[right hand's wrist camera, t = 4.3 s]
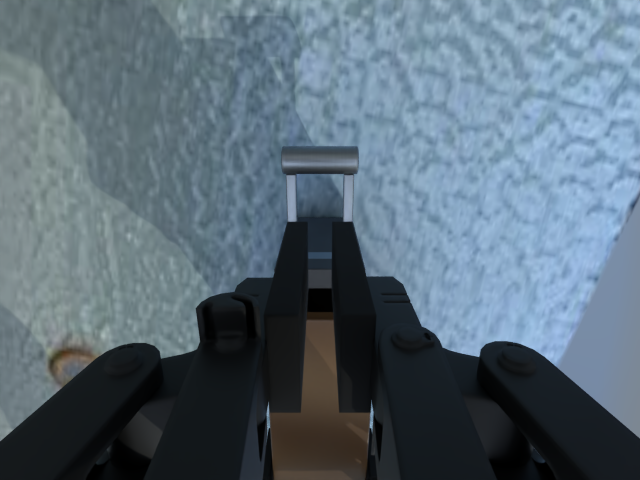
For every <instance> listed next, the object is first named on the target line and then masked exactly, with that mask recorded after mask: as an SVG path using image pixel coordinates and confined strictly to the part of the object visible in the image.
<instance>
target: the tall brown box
mask: <svg viewBox="0 0 640 480" xmlns="http://www.w3.org/2000/svg"><path fill="white" fill-rule="evenodd" d="M269 415H270V431H271V448H272V464H273V475H274V480H366V474H367V460H368V444H369V427H370V413H339V403H338V386H337V370H336V353H335V337H334V320H333V312H307V321H306V337H305V353H304V370H303V386H302V403H301V413H270V412H269Z"/></svg>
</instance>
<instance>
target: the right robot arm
mask: <svg viewBox="0 0 640 480" xmlns="http://www.w3.org/2000/svg"><path fill="white" fill-rule="evenodd" d="M308 288H309V275H308V222H288V223H287V227H286V231H285V235H284V239H283V242H282V246H281V250H280V254H279V258H278V262H277V265H276V269H275V273H274V277H273V278H247V279H245V280H244V281H243V282H241V283H240V284H239V285H237V287H236V290H235V292H231V293H223V294H219V295H215V296H212V297H209V298H208V299H206V300H204V301H202V302H201V303H200V304H199V305H198V306H197V308H196V313H197V321H198V328H199V336H200V343H199V346H198V348H197V350H194V351H192V352H189V353H185V354H182V355H177V356H172V357H167V358H163V359H161V357H160V351H159V350H158V349H157V348H156V347H155V346H153V345H150V344H147V343H131V344H127V345H126V344H125V345H121V346H118V347H116V348H114V349H111V350H109V351H107V352H105V353H104V354H102V355H101V356H99V357H98V358H96V359H95V360H94V361H93V362H92V363H90V364H89V365H88V366H87V367H86V368H85V369H83V370H82V371H81V372H80V373H79V374H78V375H77V376H75V377H74V378H73V379H72V380H71V381H70V382H68V383H67V384H66V385H65V386H64V387H63V388H62V389H60V390H59V391H58V392H57V393H56V394H55V395H53V396H52V397H51V398H50V399H49V400H48V401H46V402H45V403H44V404H43V405H42V406H41V407H40V408H38V409H37V410H36V411H35V412H34V413H33V414H31V415H30V416H29V417H28V418H27V419H26V420H24V421H23V422H22V423H21V424H20V425H19V426H18V427H16V428H15V429H14V430H13V431H12V432H11V433H9V434H8V435H7V436H6V437H5V438H4V439H2V440H1V441H0V480H263V471H264V460H265V450H266V440H267V416H266V413H267V407H268V401H269V412H270V413H301V403H302V386H303V370H304V353H305V337H306V321H307V304H308ZM331 288H332V304H333V320H334V337H335V353H336V370H337V386H338V403H339V413H370V412H371V399H372V405H373V411H374V416H373V431H372V447H371V455H375V460H376V470H377V480H640V438H639V437H637V436H636V435H635V434H634V433H633V432H632V431H630V430H629V429H628V428H627V427H626V426H625V425H623V424H622V423H621V422H620V421H619V420H617V419H616V418H615V417H614V416H613V415H612V414H610V413H609V412H608V411H607V410H606V409H605V408H603V407H602V406H601V405H600V404H599V403H598V402H596V401H595V400H594V399H593V398H592V397H591V396H589V395H588V394H587V393H586V392H585V391H584V390H582V389H581V388H580V387H579V386H578V385H577V384H575V383H574V382H573V381H572V380H571V379H570V378H568V377H567V376H566V375H565V374H564V373H563V372H561V371H560V370H559V369H558V368H557V367H556V366H554V365H553V364H552V363H551V362H550V361H549V360H547V359H546V358H545V357H544V356H542V355H541V354H539V353H538V352H536V351H535V350H533V349H531V348H528V347H526V346H524V345H521V344H518V343H513V342H508V341H495V342H491V343H488V344H486V345H485V346H484V347H483V348H482V349H481V351H480V357H476V356H471V355H466V354H461V353H457V352H453V351H450V350H447V349H445V348H442V345H441V343H440V341H439V339H438V338H437V337H436V335H435V334H434V333H432V332H431V331H429V330H428V329H426V328H424V327H422V326H421V324H420V322H419V319H418V317H417V315H416V313H415V311H414V308H413V306H412V304H411V303H410V299H409V297H408V295H407V293H406V290H405V288H404V286H403V284H402V283H400V282H399V281H398V280H396V279H395V278H394V277H366V273H365V269H364V265H363V262H362V258H361V254H360V250H359V246H358V242H357V238H356V235H355V231H354V227H353V223H352V222H332V276H331ZM534 448H535V449H534ZM539 454H540V455H539Z"/></svg>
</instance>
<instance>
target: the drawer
mask: <svg viewBox="0 0 640 480" xmlns="http://www.w3.org/2000/svg"><path fill="white" fill-rule="evenodd" d="M281 164H282V172H283V174H286V189H287V220H288V222H308V275H309V288H308V304H307V312H333V304H332V288H331V276H332V222H352V223H353V191H354V174H357V172H358V164H359V152H358V147H357V146H284V147H282V152H281ZM297 174H344V178H343V218H297ZM288 222H287V223H288ZM286 227H287V225H286ZM353 227H354V224H353ZM285 231H286V229H285ZM354 231H355V228H354ZM284 235H285V233H284ZM355 235H356V232H355ZM356 238H357V236H356ZM283 239H284V236H283ZM282 242H283V240H282ZM357 242H358V240H357ZM281 246H282V244H281ZM358 246H359V243H358ZM280 250H281V247H280ZM359 250H360V247H359ZM279 254H280V251H279ZM360 254H361V251H360ZM278 258H279V255H278ZM278 258H277V262H278ZM361 258H362V255H361ZM277 262H276V265H277ZM362 262H363V259H362ZM276 265H275V269H276ZM363 265H364V263H363ZM275 269H274V272H275ZM364 269H365V266H364Z"/></svg>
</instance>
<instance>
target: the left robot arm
mask: <svg viewBox="0 0 640 480" xmlns="http://www.w3.org/2000/svg"><path fill="white" fill-rule="evenodd" d="M371 447H372V430H371V428H369V444H368V460H367V474H366V480H377V470H376V460H375V455H371ZM263 480H274V475H273V464H272V448H271V431H270V428H269V430H268V436H267V443H266V450H265V460H264V471H263Z"/></svg>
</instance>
